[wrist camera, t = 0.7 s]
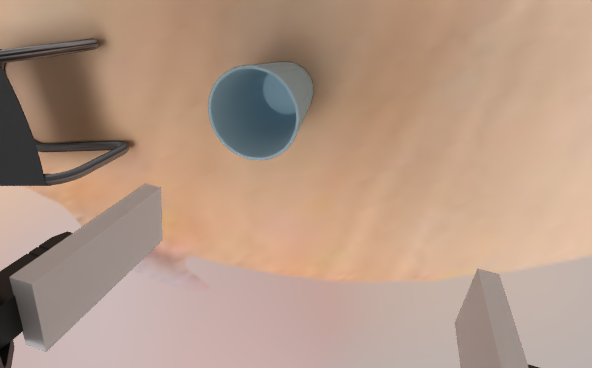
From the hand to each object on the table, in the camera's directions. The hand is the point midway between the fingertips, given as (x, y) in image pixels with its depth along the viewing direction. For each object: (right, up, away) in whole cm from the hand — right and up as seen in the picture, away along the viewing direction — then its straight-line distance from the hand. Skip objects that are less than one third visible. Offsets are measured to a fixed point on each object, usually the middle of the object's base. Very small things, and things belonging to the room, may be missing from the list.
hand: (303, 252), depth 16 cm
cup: (-1, +13, +25) cm, 28 cm away
